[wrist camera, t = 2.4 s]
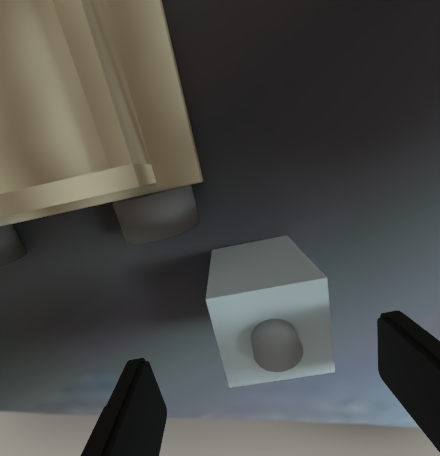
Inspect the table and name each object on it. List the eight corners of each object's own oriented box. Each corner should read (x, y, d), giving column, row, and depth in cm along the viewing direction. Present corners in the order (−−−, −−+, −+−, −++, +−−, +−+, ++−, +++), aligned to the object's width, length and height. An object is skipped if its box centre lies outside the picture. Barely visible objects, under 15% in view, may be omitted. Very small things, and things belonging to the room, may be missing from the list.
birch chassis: (127, -150, 9) (54, -392, 5) (210, 212, 13) (206, 231, 9) (-192, -42, 10) (-451, -172, 6) (-18, 260, 14) (-107, 294, 10)
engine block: (286, 235, 14) (337, 288, 8) (295, 299, 15) (344, 389, 9) (212, 249, 14) (203, 312, 8) (226, 311, 15) (229, 405, 9)
